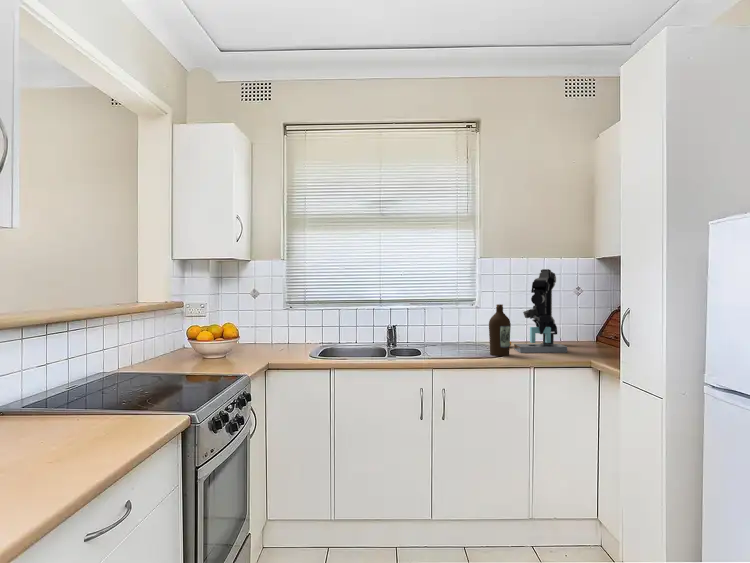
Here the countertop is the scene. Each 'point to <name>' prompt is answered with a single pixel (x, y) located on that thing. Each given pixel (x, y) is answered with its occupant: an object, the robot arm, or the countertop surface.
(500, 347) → the olive oil
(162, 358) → the countertop surface
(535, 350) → the rail plate
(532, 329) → the clip
